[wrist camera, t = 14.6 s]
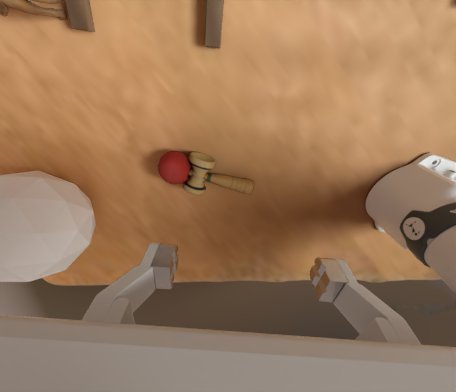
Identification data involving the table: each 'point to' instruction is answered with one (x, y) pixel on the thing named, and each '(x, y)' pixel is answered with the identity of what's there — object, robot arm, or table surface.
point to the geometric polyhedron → (41, 225)
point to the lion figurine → (32, 8)
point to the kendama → (197, 173)
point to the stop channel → (83, 21)
